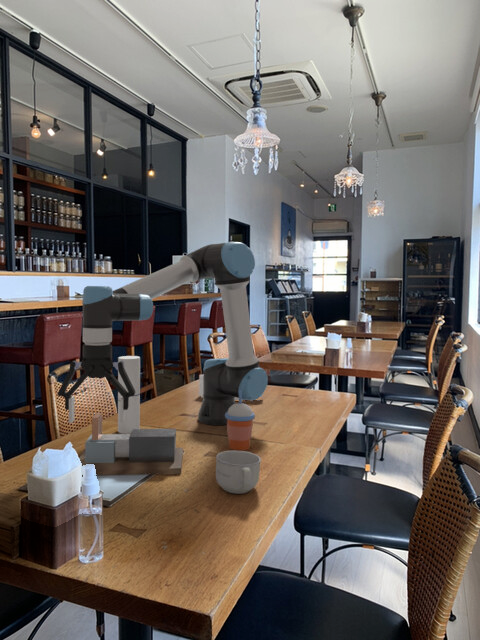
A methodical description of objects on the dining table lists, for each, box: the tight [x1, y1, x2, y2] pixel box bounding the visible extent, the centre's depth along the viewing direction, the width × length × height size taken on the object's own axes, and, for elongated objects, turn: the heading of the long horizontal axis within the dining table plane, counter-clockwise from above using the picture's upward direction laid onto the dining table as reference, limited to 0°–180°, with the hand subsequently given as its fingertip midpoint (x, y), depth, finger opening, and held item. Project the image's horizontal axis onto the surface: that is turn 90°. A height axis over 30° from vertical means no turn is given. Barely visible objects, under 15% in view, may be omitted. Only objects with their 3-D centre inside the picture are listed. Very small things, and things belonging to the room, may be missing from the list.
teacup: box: [215, 450, 262, 495], centre depth 109 cm, size 14×11×8 cm
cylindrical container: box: [117, 355, 141, 434], centre depth 155 cm, size 7×7×25 cm
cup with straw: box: [225, 389, 256, 451], centre depth 140 cm, size 9×9×18 cm
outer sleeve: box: [129, 428, 177, 463], centre depth 126 cm, size 12×7×7 cm, turn 95°
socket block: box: [84, 434, 116, 463], centre depth 125 cm, size 7×7×6 cm
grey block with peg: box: [91, 412, 130, 457], centre depth 125 cm, size 13×5×11 cm, turn 95°
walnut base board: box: [78, 447, 184, 476], centre depth 126 cm, size 28×16×2 cm, turn 95°
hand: (97, 421), depth 124 cm, fingers open, 13 cm apart
